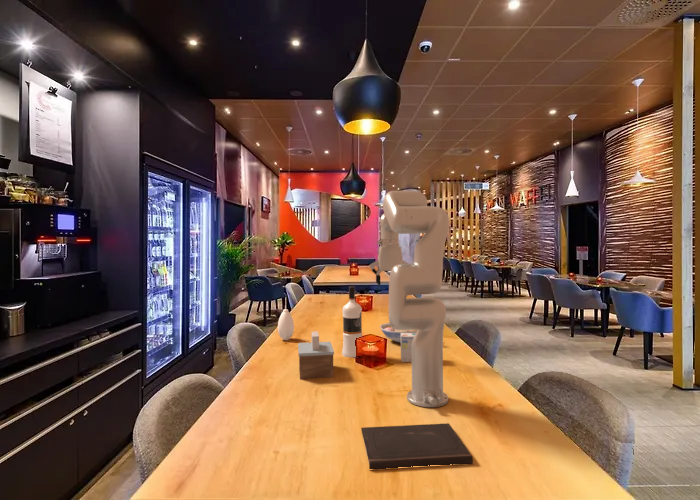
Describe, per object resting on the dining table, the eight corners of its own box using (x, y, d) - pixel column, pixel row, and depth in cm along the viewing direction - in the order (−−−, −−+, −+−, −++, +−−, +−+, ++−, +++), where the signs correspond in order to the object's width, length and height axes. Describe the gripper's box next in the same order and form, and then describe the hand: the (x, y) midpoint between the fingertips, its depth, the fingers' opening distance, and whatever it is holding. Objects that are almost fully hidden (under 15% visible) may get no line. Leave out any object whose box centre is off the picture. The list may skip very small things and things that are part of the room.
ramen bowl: (372, 337, 202) (372, 321, 202) (412, 334, 209) (412, 318, 209) (391, 350, 178) (391, 332, 178) (436, 345, 185) (436, 328, 185)
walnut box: (333, 379, 141) (333, 354, 141) (299, 381, 140) (299, 356, 139) (330, 367, 155) (329, 344, 155) (299, 368, 154) (298, 345, 153)
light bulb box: (426, 358, 166) (425, 332, 166) (427, 362, 159) (427, 336, 159) (400, 357, 167) (400, 332, 167) (400, 362, 160) (400, 336, 160)
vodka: (347, 352, 176) (346, 285, 175) (366, 354, 172) (365, 285, 171) (338, 358, 167) (337, 287, 167) (358, 360, 164) (357, 288, 163)
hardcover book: (361, 436, 101) (361, 427, 101) (448, 431, 103) (448, 423, 103) (369, 473, 85) (369, 462, 85) (473, 467, 87) (473, 456, 87)
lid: (334, 357, 141) (333, 337, 141) (298, 359, 139) (298, 339, 139) (330, 346, 155) (330, 328, 155) (298, 348, 154) (297, 330, 153)
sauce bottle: (297, 339, 200) (296, 303, 200) (286, 342, 194) (286, 306, 193) (285, 337, 205) (284, 302, 204) (274, 340, 198) (274, 304, 198)
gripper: (371, 243, 161) (371, 285, 161) (412, 243, 163) (412, 284, 163) (367, 243, 168) (368, 283, 169) (407, 243, 170) (407, 282, 171)
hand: (390, 284), depth 166 cm, fingers open, 9 cm apart
